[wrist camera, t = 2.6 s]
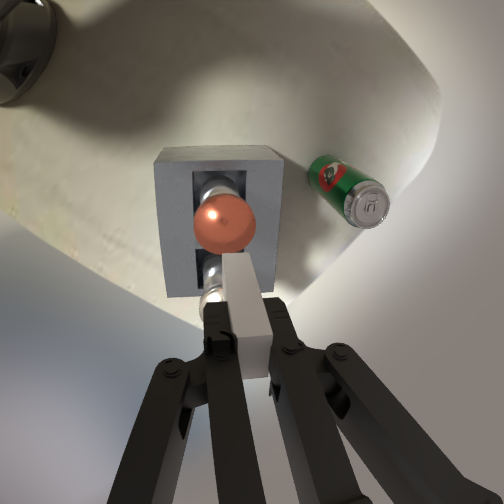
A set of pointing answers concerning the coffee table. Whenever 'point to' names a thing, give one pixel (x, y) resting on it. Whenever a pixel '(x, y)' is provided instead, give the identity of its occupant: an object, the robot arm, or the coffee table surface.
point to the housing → (188, 200)
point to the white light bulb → (211, 281)
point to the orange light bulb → (223, 217)
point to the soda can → (349, 191)
